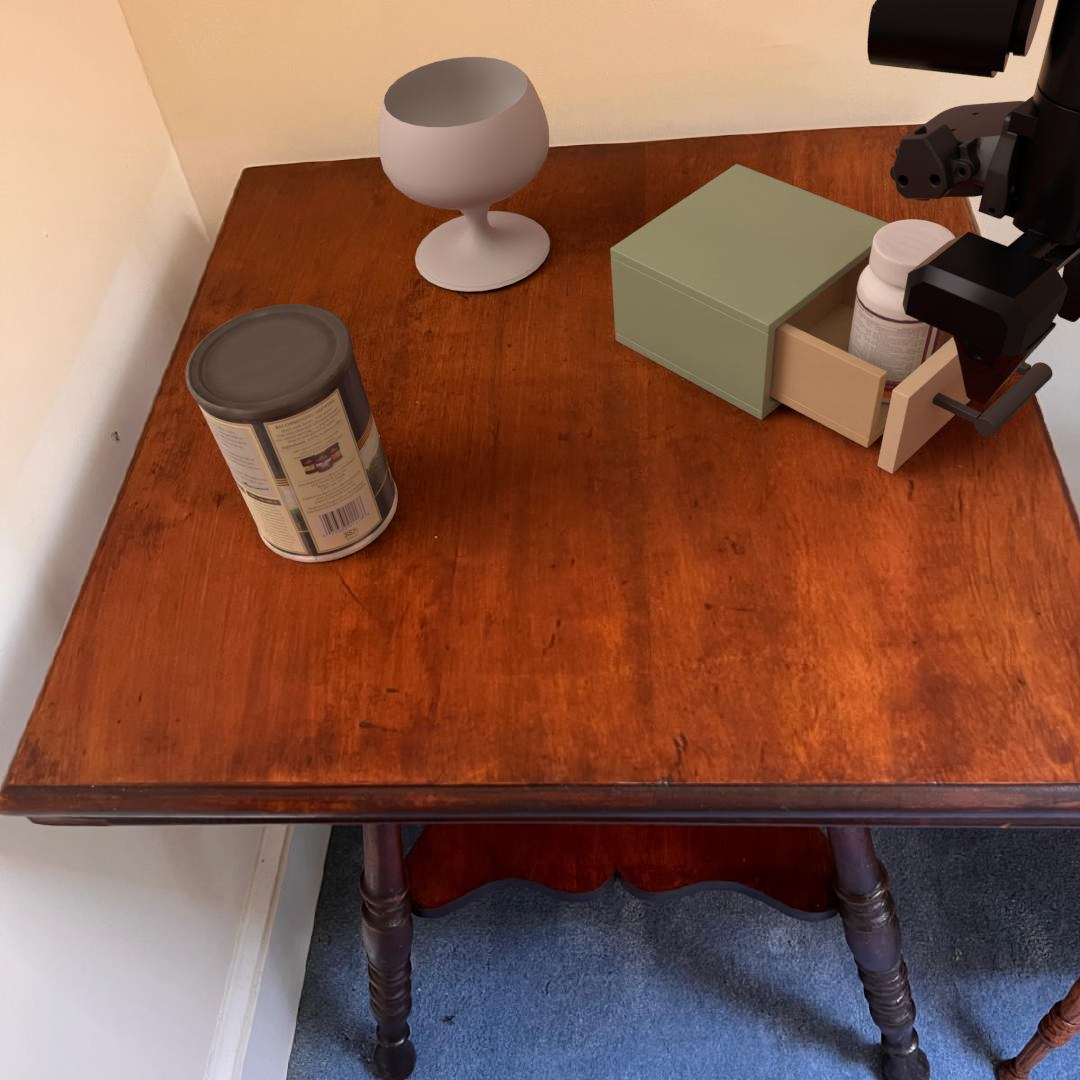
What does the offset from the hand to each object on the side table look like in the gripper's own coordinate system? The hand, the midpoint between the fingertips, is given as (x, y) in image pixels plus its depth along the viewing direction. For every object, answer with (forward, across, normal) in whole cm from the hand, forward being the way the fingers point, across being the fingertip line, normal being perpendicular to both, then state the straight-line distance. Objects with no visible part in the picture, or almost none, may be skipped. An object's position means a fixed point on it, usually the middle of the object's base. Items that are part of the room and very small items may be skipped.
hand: (1023, 358), depth 58 cm
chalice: (+12, +2, -48) cm, 50 cm away
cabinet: (+13, -5, -23) cm, 27 cm away
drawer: (+12, -5, -10) cm, 16 cm away
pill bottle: (+11, -5, -11) cm, 16 cm away
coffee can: (+12, +29, -33) cm, 46 cm away
